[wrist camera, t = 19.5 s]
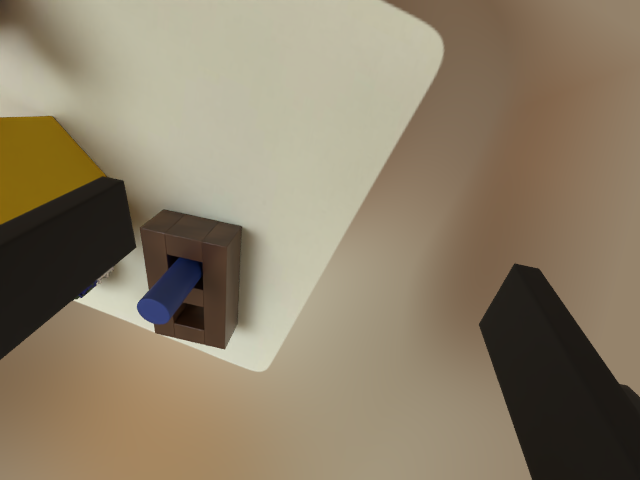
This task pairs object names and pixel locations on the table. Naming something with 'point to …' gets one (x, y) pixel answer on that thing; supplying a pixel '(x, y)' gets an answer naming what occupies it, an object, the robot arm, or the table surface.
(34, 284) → the robot arm
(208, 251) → the holder
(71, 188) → the alarm clock
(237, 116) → the table surface
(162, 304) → the blue long cylinder
